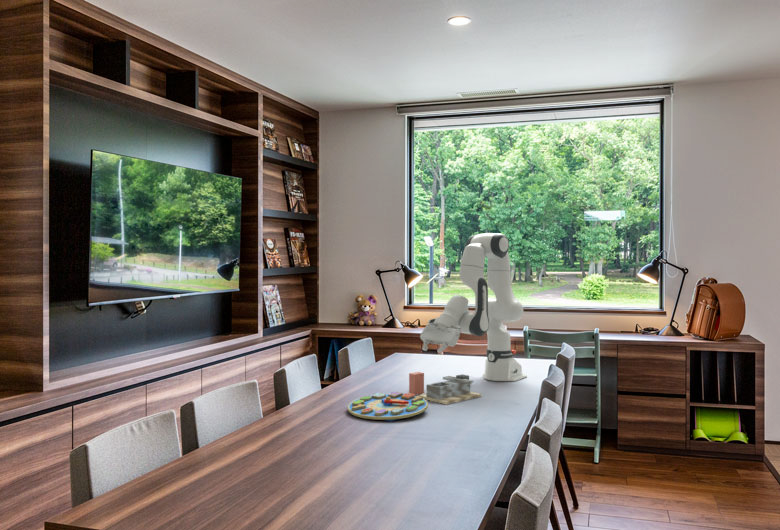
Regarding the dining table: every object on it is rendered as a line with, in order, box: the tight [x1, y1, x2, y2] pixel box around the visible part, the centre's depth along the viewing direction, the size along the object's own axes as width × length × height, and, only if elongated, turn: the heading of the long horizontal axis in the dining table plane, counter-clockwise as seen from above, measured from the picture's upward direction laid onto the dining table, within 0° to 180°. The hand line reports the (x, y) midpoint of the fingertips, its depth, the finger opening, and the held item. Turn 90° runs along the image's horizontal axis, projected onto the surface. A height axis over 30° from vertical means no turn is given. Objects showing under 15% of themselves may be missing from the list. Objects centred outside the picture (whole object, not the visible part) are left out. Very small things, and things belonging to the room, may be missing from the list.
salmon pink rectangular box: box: [408, 371, 425, 396], centre depth 273 cm, size 6×4×9 cm, turn 132°
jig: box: [417, 373, 482, 405], centre depth 266 cm, size 22×16×8 cm
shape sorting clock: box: [347, 391, 429, 422], centre depth 242 cm, size 31×30×6 cm
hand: (431, 351), depth 278 cm, fingers open, 8 cm apart
